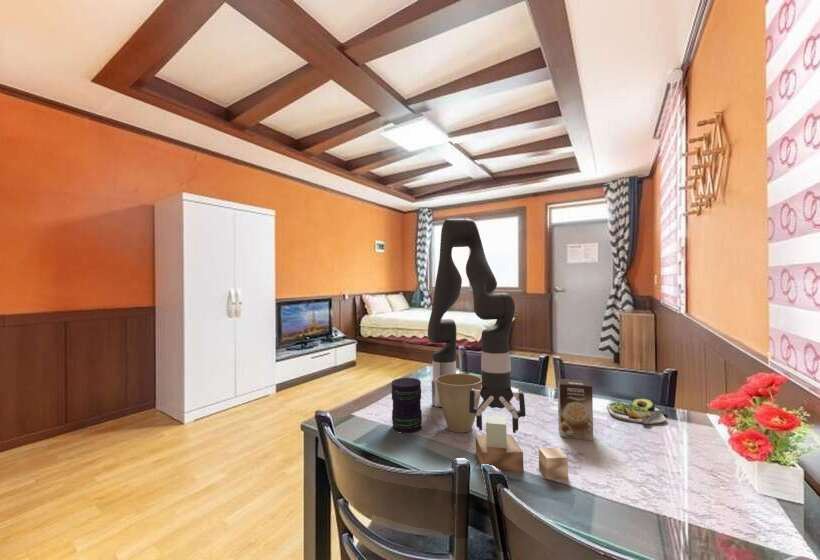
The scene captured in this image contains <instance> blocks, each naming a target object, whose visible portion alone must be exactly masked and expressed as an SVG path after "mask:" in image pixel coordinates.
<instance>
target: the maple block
mask: <svg viewBox="0 0 820 560" xmlns="http://www.w3.org/2000/svg"><path fill="white" fill-rule="evenodd" d="M568 462H569V460H568V456H567V455H566V454H565V453H564V452H563V450H561V449H560V448H559V447H538V469H539V470H540V471H541V473H542V474H543V476H544V477H545V479H547V480H562V479H563V480H567V479H569V463H568Z"/></svg>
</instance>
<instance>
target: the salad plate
mask: <svg viewBox="0 0 820 560" xmlns="http://www.w3.org/2000/svg"><path fill="white" fill-rule="evenodd" d="M606 409H607V410H608V412H609V414H610V415H611V416H612V417H614V418H616V419H619V420H621V421H623V422H624V421H625V422H629V423H636V424H642V425H652V424H660V423H661V424H662V423H664V422H665V421H666V416H664V413H665V412H666V409H664V408H657V407H656V406H655V403H654V402H653V401H652V400H650V399H648V398H636V399H633V400H631V402H630V403H627V402H622V401H621V402H620V401H613V402H608V403H607V404H606ZM617 413H618V414H621V415H625V416H628V417H629V418H628V417H625V416H621V415H618V414H617Z"/></svg>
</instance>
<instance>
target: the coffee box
mask: <svg viewBox="0 0 820 560" xmlns="http://www.w3.org/2000/svg"><path fill="white" fill-rule="evenodd" d="M557 401H558V402H557V406H558V407H557V411H558V412H557V413H558V415H557V417H558V418H557V419H558V433H559V437H561V438H569V439H576V440H582V441H583V440H584V441H592V442H593V441H594V416H593V415H594V413H593V411H594V409H593V408H594V407H593V406H594V405H593V386H592V384H591V382H589V380H581V379H580V380H578V379H567V378H557Z"/></svg>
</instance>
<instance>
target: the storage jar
mask: <svg viewBox="0 0 820 560" xmlns="http://www.w3.org/2000/svg"><path fill="white" fill-rule="evenodd" d="M421 382H422V381H421V380H420V379H417V378H414V377H402V378H401V377H400V378H397V379H393V380H392V381H391V400H392V412H391V421H392V430H393V429H394V430H395V431H397V432H396V433H398V432H401V433H400V434H402V433H410V434H415V433H418V432H419V430H420V431H421V430H422V427H423V426H422V423H423V422H422V420H423V416H422V415H423V414H422V409H421V404H422V403H421V400H422V385H421V384H422V383H421ZM394 430H393V431H394ZM395 431H394V432H395Z"/></svg>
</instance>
